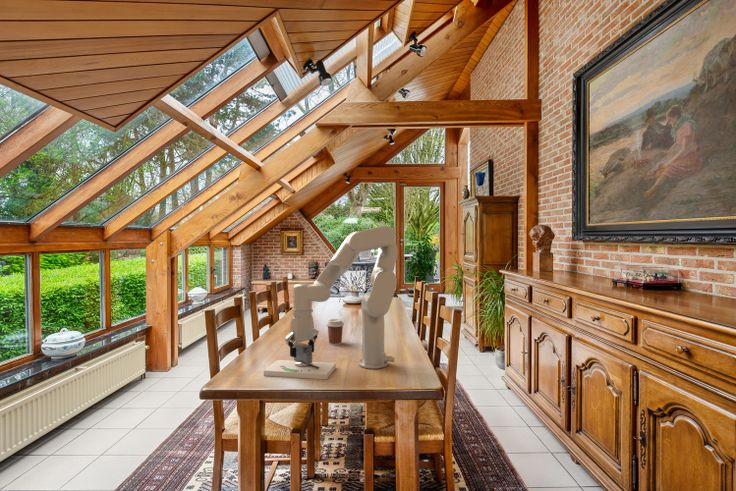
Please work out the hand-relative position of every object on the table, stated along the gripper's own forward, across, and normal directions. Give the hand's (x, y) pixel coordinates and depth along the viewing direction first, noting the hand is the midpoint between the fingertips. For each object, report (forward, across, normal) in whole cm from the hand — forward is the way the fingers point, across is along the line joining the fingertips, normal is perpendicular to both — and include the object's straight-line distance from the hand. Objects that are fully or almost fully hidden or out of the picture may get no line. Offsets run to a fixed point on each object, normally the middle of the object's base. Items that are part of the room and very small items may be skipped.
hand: (302, 354), depth 169 cm
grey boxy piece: (+4, 0, +3) cm, 5 cm away
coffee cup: (+6, -37, -18) cm, 42 cm away
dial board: (+6, +2, +2) cm, 7 cm away
